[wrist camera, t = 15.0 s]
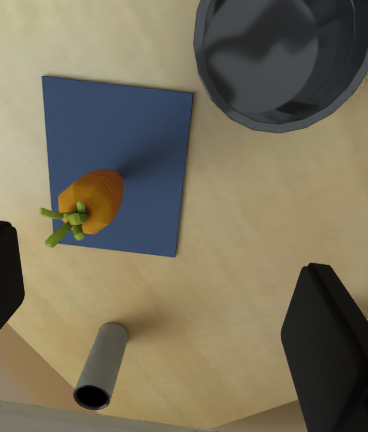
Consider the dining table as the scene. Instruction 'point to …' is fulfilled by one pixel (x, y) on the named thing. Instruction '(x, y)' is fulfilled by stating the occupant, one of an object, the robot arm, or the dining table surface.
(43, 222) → the dining table surface
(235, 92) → the pot
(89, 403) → the grey cylindrical tube
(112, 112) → the towel
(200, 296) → the dining table surface
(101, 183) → the carrot
